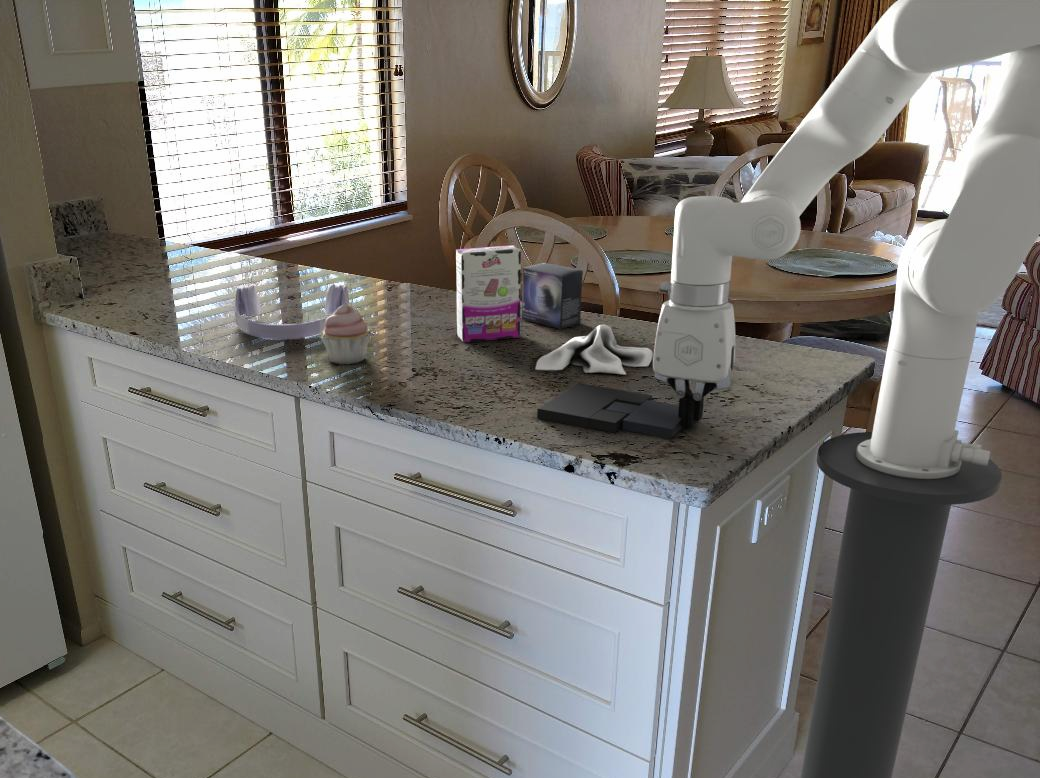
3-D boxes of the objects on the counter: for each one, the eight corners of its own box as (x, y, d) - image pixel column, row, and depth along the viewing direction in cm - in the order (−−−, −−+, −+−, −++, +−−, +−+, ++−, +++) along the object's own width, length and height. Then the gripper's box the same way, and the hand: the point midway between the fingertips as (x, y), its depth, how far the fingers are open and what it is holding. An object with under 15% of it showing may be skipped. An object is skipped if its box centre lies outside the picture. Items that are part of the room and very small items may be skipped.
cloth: (589, 337, 183) (591, 304, 181) (676, 356, 170) (679, 321, 168) (509, 363, 170) (509, 328, 167) (597, 386, 157) (599, 348, 154)
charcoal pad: (692, 417, 143) (693, 407, 143) (670, 439, 135) (672, 428, 135) (621, 405, 148) (622, 395, 148) (596, 425, 141) (597, 415, 140)
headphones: (243, 313, 206) (224, 345, 188) (239, 279, 202) (220, 309, 185) (350, 312, 205) (341, 344, 187) (348, 278, 201) (339, 308, 184)
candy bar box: (512, 331, 188) (514, 244, 182) (520, 338, 184) (522, 249, 177) (455, 336, 186) (455, 248, 180) (461, 343, 182) (462, 252, 175)
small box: (518, 319, 196) (520, 266, 192) (541, 314, 200) (543, 261, 196) (559, 329, 189) (561, 274, 185) (581, 323, 193) (584, 269, 188)
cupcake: (335, 370, 168) (332, 312, 164) (311, 358, 175) (308, 302, 171) (383, 361, 172) (381, 304, 168) (358, 349, 179) (355, 294, 175)
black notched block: (651, 404, 148) (652, 395, 148) (614, 433, 138) (615, 422, 137) (577, 391, 155) (578, 382, 154) (536, 418, 144) (537, 408, 143)
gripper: (635, 294, 132) (628, 424, 139) (748, 304, 124) (735, 441, 132) (654, 283, 138) (647, 408, 145) (764, 292, 130) (751, 423, 137)
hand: (689, 423), depth 138 cm, fingers closed
